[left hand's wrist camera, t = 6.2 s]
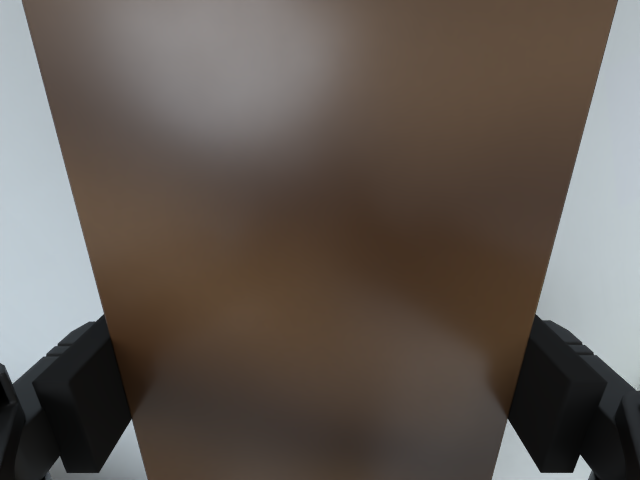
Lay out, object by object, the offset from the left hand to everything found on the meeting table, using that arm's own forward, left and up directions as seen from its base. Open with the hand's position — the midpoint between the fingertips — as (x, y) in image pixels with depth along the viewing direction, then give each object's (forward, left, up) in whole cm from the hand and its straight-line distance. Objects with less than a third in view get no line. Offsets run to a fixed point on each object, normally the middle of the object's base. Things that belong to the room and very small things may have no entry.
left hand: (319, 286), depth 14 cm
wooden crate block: (+6, -1, -4) cm, 7 cm away
